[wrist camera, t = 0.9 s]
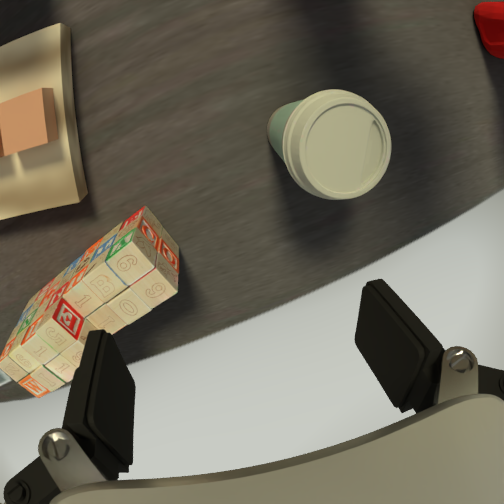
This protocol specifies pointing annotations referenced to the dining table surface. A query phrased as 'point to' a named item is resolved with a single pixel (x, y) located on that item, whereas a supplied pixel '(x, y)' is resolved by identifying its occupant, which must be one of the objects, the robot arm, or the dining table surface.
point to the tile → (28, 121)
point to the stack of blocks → (92, 301)
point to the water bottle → (491, 26)
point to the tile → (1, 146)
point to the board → (67, 145)
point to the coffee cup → (332, 143)
